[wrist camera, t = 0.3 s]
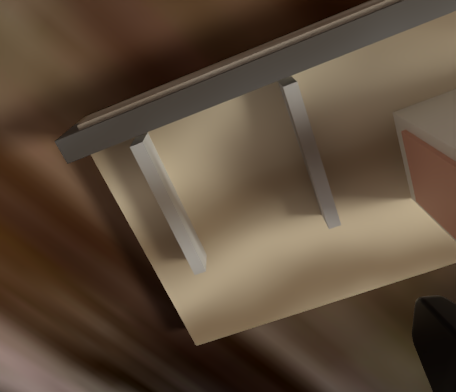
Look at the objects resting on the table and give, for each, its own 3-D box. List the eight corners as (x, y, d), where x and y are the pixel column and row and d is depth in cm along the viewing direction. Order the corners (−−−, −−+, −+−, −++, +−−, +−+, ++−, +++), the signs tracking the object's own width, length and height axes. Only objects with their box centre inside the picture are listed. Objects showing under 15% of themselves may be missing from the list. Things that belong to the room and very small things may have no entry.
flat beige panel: (569, 206, 23) (636, 244, 19) (197, 327, 25) (194, 381, 22) (556, -82, 17) (648, -106, 14) (81, 112, 20) (51, 136, 16)
